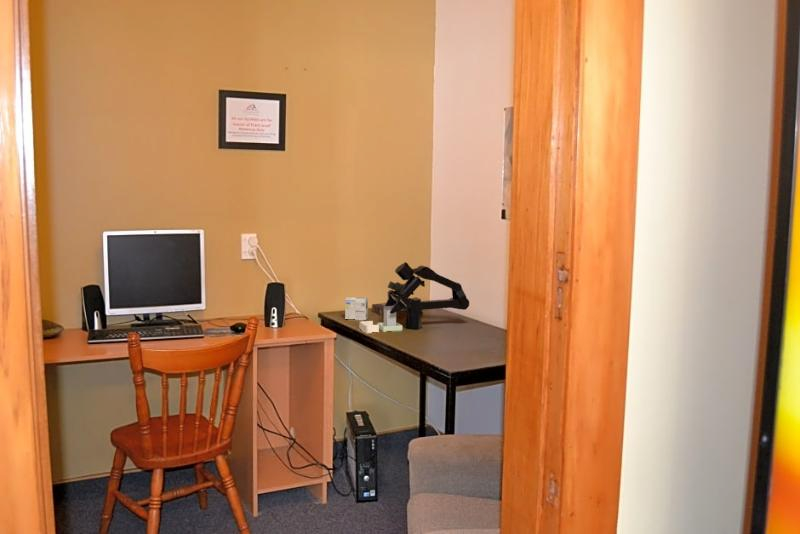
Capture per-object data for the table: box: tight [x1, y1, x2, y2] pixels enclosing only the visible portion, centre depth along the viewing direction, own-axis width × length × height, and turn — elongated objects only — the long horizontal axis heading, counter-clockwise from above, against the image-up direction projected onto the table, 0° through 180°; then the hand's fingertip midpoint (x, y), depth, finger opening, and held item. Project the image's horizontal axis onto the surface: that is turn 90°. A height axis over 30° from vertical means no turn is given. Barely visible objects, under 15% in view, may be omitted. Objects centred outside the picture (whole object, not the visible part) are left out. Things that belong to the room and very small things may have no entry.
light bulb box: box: [344, 296, 369, 321], centre depth 355 cm, size 11×7×11 cm, turn 84°
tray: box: [376, 321, 403, 333], centre depth 331 cm, size 9×9×2 cm
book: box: [371, 302, 408, 320], centre depth 368 cm, size 23×18×5 cm
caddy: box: [383, 306, 397, 326], centre depth 331 cm, size 4×5×10 cm
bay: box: [358, 320, 380, 334], centre depth 328 cm, size 6×10×4 cm, turn 20°
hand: (387, 311), depth 330 cm, fingers open, 9 cm apart
